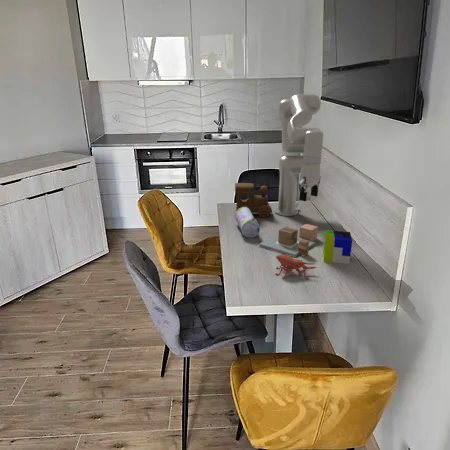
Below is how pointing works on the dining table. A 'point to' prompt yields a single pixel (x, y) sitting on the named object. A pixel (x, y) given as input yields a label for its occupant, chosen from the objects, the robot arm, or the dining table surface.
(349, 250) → the puzzle toy
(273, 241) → the board
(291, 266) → the beetle
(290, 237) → the walnut block
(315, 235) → the terracotta block
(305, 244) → the tower
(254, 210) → the wooden toy train
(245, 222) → the pencil case
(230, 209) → the dining table surface
